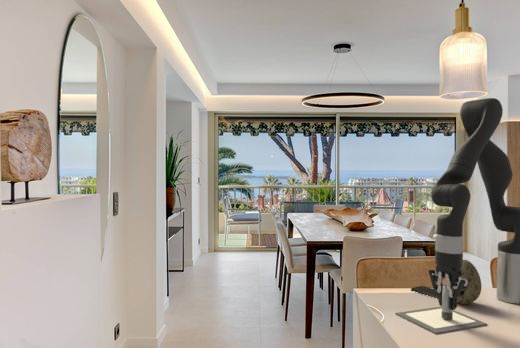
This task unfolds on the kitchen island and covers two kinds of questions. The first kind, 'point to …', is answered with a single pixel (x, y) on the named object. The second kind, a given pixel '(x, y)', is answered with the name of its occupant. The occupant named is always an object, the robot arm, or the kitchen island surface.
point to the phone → (426, 291)
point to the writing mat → (440, 320)
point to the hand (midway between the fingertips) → (447, 307)
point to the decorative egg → (474, 285)
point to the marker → (446, 301)
